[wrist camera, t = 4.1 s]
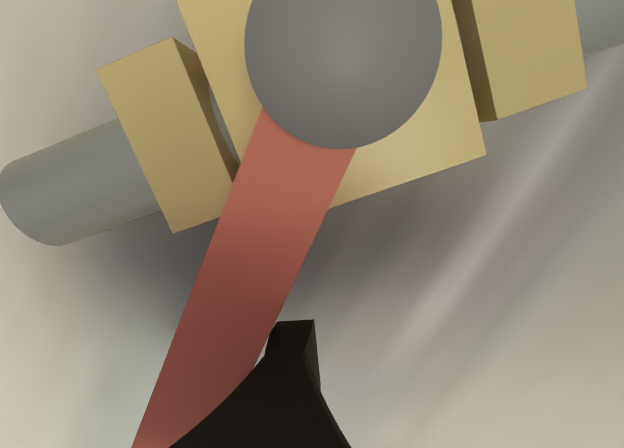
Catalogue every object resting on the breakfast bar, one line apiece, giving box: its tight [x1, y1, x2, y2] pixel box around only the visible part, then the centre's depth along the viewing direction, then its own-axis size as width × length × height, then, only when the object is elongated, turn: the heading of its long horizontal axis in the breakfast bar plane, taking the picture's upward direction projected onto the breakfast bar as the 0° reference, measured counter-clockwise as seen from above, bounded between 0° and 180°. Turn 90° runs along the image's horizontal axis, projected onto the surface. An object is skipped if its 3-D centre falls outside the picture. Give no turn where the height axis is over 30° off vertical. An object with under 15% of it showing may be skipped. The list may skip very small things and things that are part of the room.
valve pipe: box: [0, 0, 624, 246], centre depth 9 cm, size 20×6×4 cm, turn 110°
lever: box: [131, 0, 442, 448], centre depth 7 cm, size 12×3×2 cm, turn 156°
